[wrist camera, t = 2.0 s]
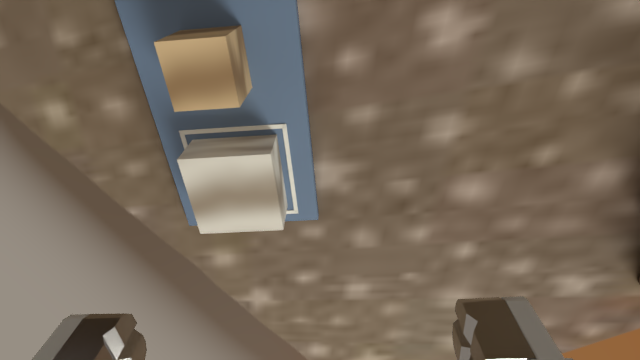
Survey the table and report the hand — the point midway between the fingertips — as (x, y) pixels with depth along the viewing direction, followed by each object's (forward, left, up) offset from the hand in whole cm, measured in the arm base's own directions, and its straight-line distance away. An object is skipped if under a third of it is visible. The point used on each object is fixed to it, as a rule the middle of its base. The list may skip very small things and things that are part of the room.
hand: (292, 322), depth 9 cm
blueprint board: (+4, -8, -26) cm, 28 cm away
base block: (+9, -8, -25) cm, 28 cm away
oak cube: (-2, -8, -25) cm, 26 cm away
